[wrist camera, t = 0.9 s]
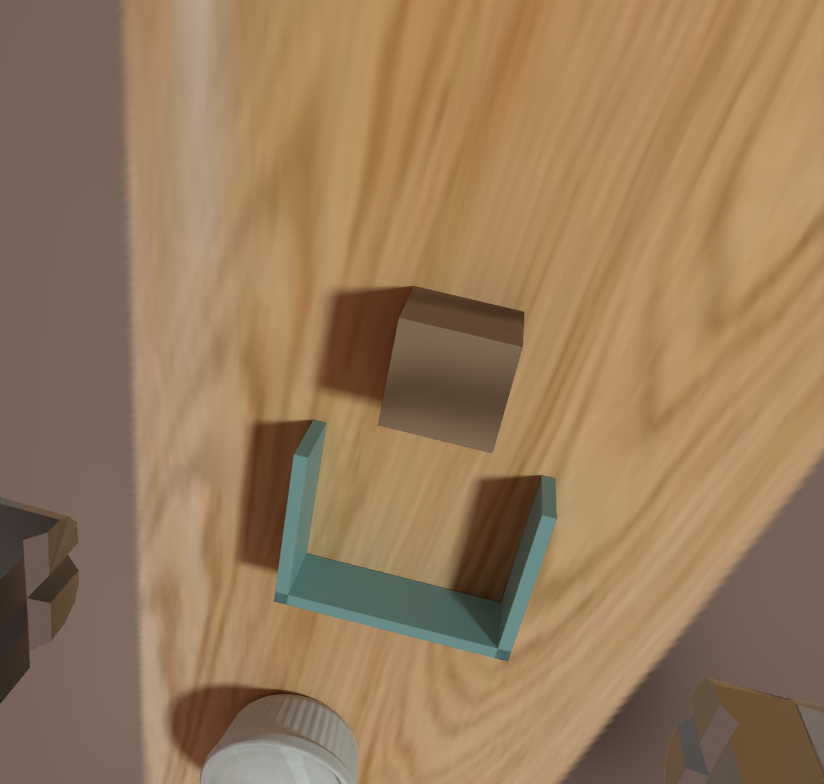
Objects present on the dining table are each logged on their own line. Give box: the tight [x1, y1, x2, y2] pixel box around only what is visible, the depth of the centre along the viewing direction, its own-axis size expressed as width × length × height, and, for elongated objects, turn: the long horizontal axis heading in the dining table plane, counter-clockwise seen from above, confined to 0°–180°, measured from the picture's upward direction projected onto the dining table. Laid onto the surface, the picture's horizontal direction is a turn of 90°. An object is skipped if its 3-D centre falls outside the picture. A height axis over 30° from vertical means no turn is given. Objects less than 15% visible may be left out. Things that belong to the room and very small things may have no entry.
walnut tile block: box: [378, 286, 524, 453], centre depth 39 cm, size 6×6×5 cm
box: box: [274, 420, 557, 661], centre depth 45 cm, size 11×15×4 cm
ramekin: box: [200, 694, 358, 784], centre depth 55 cm, size 11×11×5 cm
